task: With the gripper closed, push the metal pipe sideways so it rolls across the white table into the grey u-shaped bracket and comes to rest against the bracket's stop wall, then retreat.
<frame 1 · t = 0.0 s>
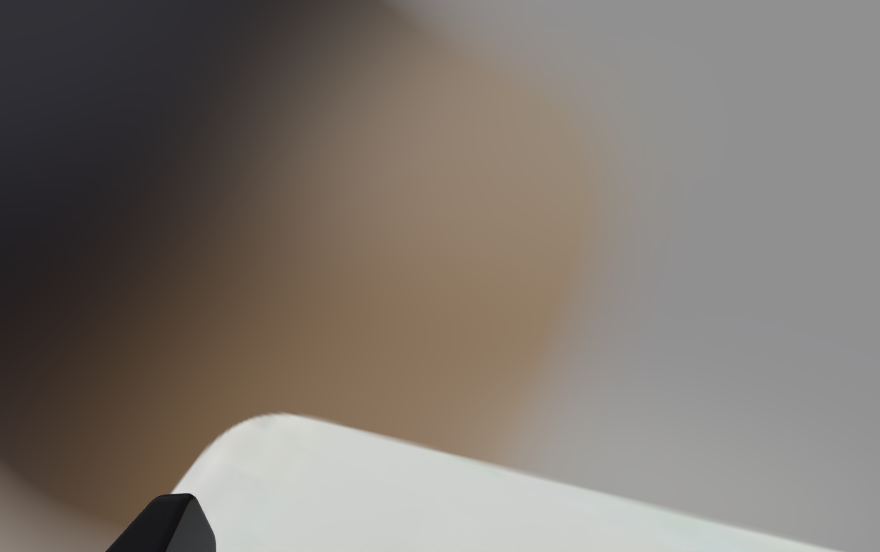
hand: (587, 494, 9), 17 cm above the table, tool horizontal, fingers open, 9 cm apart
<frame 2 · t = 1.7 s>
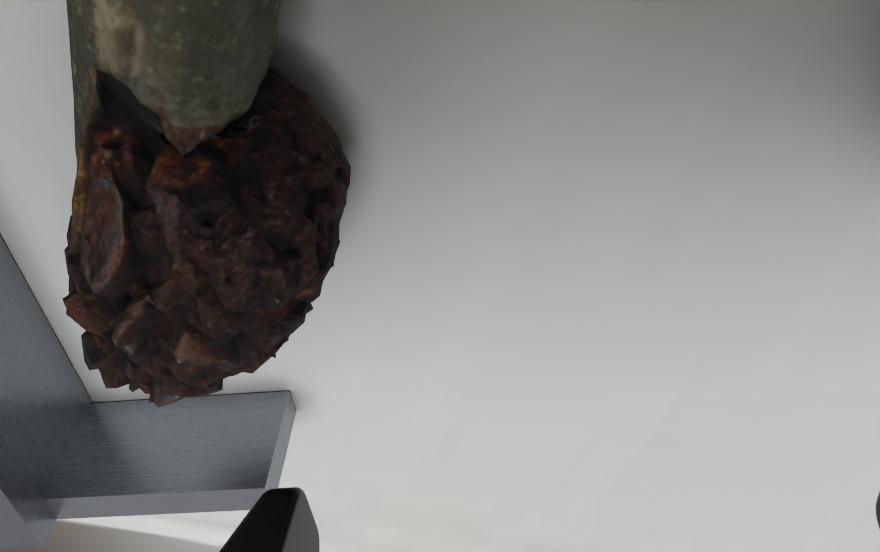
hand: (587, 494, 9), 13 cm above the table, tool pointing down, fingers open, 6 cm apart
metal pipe: (235, 51, 20), on the table
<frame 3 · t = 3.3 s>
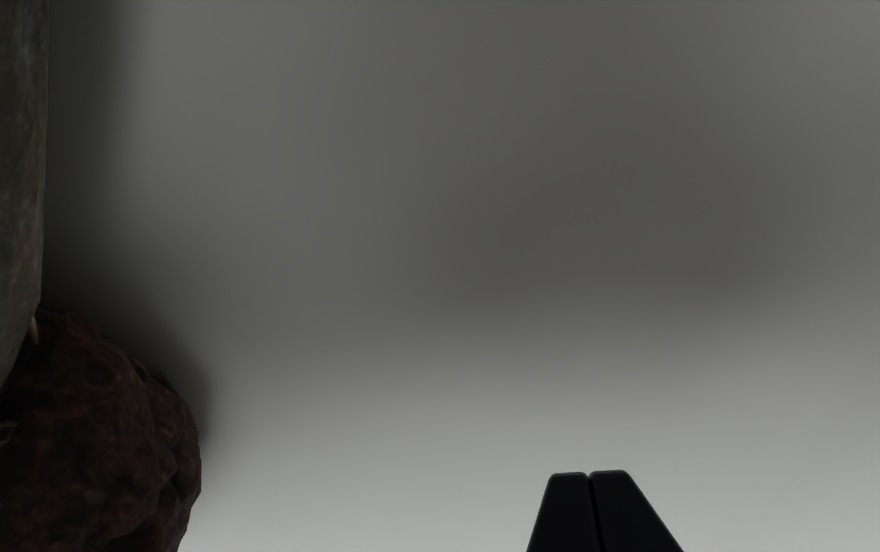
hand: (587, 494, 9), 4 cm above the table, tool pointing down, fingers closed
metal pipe: (18, 259, 12), on the table
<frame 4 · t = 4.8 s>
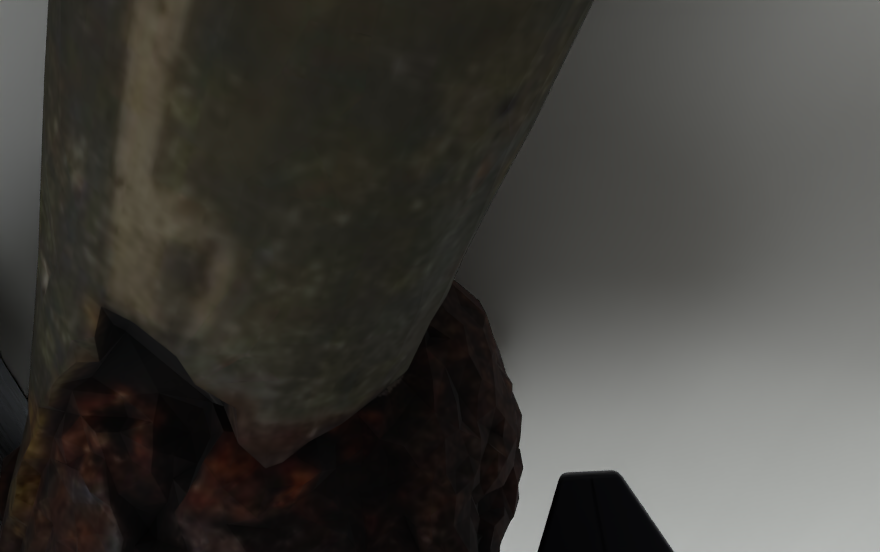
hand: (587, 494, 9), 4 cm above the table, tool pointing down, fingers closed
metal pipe: (335, 192, 11), on the table, touching grey u-shaped bracket, gripper
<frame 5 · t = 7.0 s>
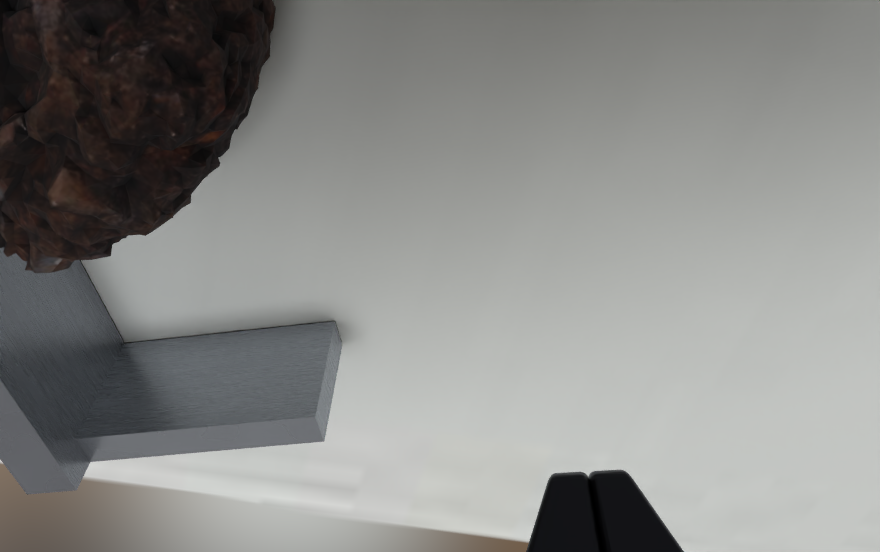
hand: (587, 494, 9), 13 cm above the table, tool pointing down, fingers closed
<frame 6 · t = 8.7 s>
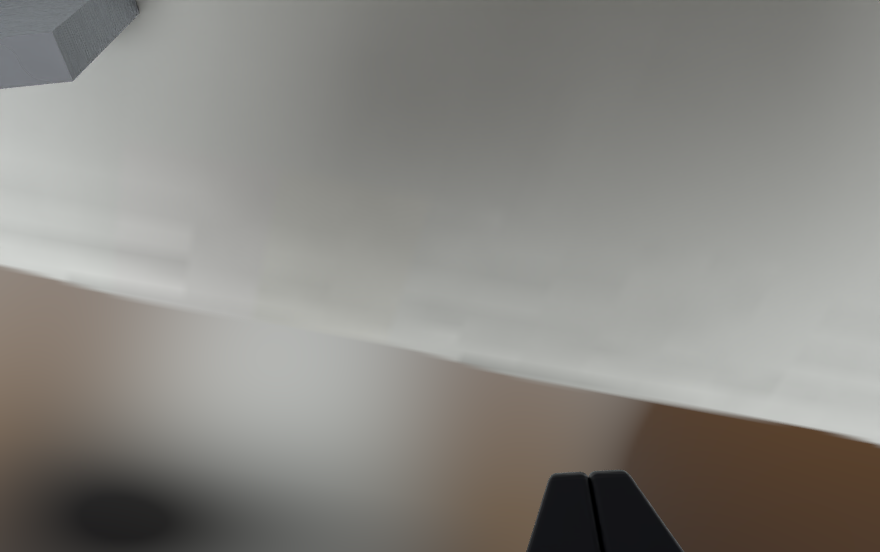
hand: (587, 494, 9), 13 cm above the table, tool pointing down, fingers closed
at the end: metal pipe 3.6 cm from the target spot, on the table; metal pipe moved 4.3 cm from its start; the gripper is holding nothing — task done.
